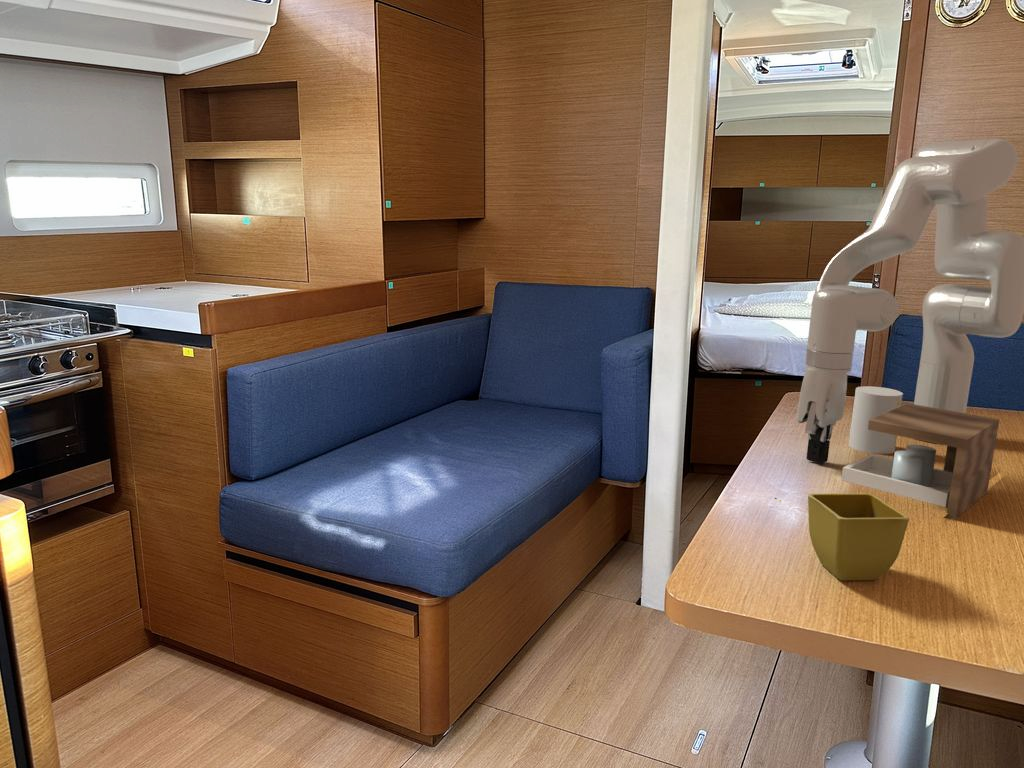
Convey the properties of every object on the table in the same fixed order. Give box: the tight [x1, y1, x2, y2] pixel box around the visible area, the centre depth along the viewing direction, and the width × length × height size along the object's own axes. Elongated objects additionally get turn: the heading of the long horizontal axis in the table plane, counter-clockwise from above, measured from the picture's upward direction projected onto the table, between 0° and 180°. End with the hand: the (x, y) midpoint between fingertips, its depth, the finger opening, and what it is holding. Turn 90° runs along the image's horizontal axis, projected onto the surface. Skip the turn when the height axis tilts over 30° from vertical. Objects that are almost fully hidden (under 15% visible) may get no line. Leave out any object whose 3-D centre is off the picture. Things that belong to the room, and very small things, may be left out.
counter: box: [868, 402, 1000, 521], centre depth 124 cm, size 18×14×12 cm
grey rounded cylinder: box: [905, 444, 937, 487], centre depth 128 cm, size 4×4×6 cm
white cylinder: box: [848, 385, 904, 455], centre depth 147 cm, size 8×8×12 cm
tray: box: [840, 453, 953, 508], centre depth 127 cm, size 12×16×3 cm
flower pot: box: [807, 492, 910, 581], centre depth 95 cm, size 9×9×9 cm
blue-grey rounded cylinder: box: [891, 450, 925, 485], centre depth 124 cm, size 4×4×6 cm
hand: (816, 460), depth 138 cm, fingers closed
